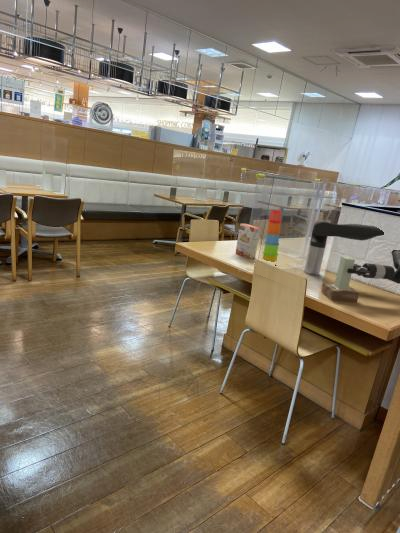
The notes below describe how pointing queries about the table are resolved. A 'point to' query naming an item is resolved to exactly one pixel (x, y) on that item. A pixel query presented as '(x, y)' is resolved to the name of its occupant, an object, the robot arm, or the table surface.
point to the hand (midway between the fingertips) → (343, 268)
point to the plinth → (339, 293)
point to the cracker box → (247, 240)
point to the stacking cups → (272, 236)
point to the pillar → (344, 273)
